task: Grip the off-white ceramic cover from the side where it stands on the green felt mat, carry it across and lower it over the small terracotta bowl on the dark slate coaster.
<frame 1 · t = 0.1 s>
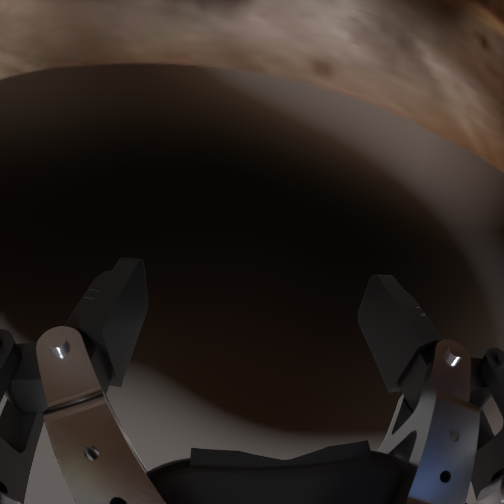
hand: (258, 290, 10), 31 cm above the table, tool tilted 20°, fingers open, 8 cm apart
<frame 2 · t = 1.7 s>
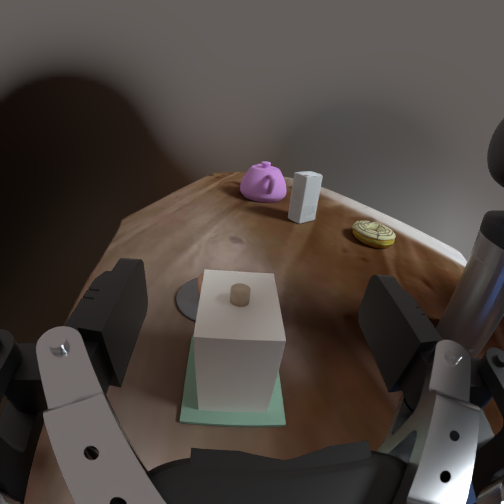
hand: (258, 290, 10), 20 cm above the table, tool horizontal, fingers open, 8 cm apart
felt mat: (232, 379, 29), on the table
teapot: (261, 196, 87), on the table
skincare box: (300, 220, 72), on the table
slate coaster: (214, 299, 41), on the table
ceramic cover: (232, 376, 29), resting on felt mat
decorated donut: (371, 241, 66), on the table
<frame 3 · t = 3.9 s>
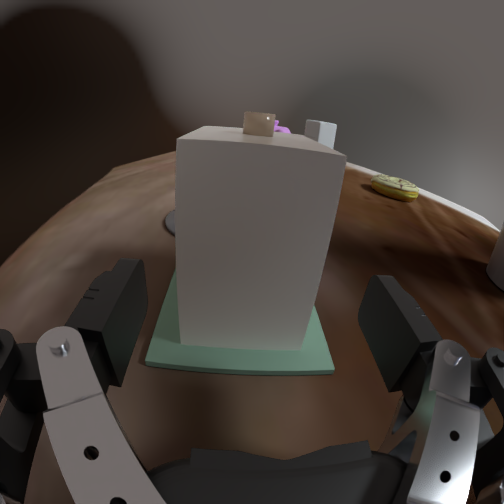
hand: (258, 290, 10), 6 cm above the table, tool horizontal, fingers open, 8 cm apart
felt mat: (240, 304, 19), on the table
skincare box: (313, 174, 63), on the table
ceramic cover: (240, 299, 19), resting on felt mat
decorated donut: (392, 196, 57), on the table
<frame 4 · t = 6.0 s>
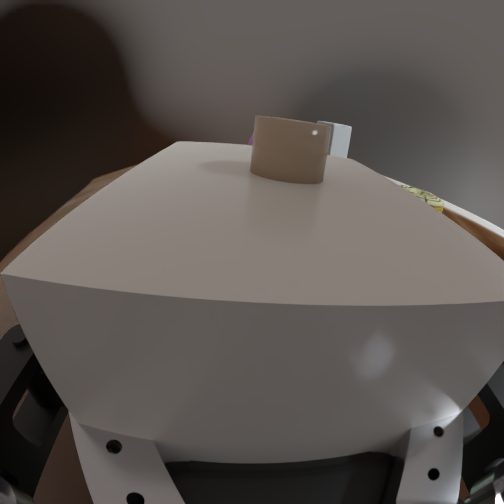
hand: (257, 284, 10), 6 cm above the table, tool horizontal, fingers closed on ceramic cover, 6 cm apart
skincare box: (324, 184, 55), on the table
ceramic cover: (245, 425, 11), resting on felt mat, touching gripper
decorated donut: (414, 210, 48), on the table
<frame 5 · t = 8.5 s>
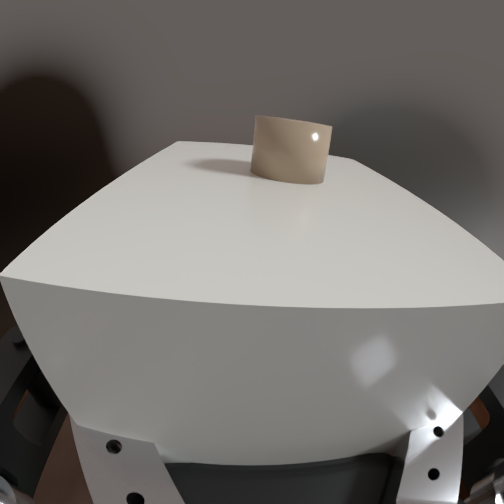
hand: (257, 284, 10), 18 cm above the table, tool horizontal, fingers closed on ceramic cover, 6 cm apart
ceramic cover: (245, 425, 11), point 12 cm above the table, touching gripper
when the fingers open (7 cm above the table, at t = 11.3 s): ceramic cover stays where it is, resting on slate coaster.
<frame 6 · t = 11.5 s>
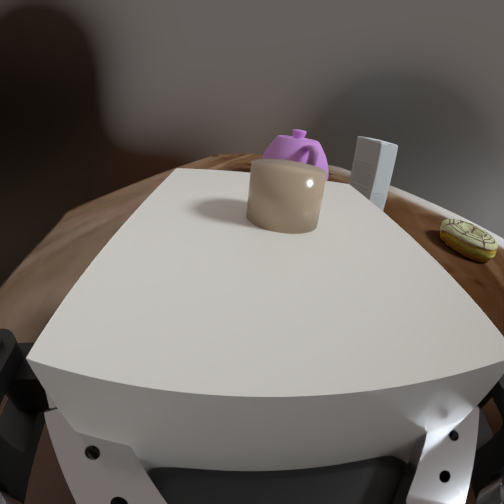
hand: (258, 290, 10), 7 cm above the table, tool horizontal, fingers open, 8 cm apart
teapot: (291, 181, 58), on the table
skincare box: (362, 216, 43), on the table
ceramic cover: (244, 437, 11), resting on slate coaster
decorated donut: (464, 250, 37), on the table
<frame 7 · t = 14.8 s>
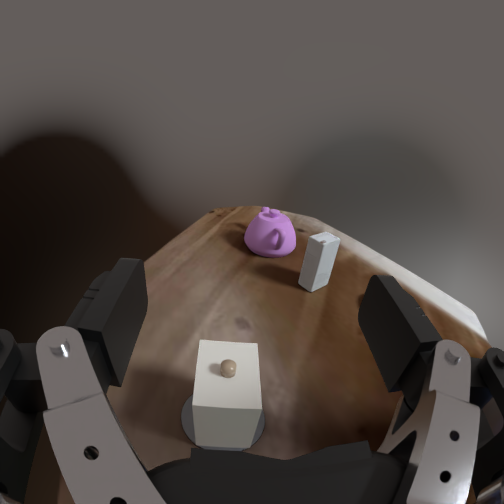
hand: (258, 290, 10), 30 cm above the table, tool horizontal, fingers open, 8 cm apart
teapot: (268, 246, 80), on the table
skincare box: (312, 285, 65), on the table
slate coaster: (222, 418, 34), on the table
ceramic cover: (223, 418, 33), resting on slate coaster
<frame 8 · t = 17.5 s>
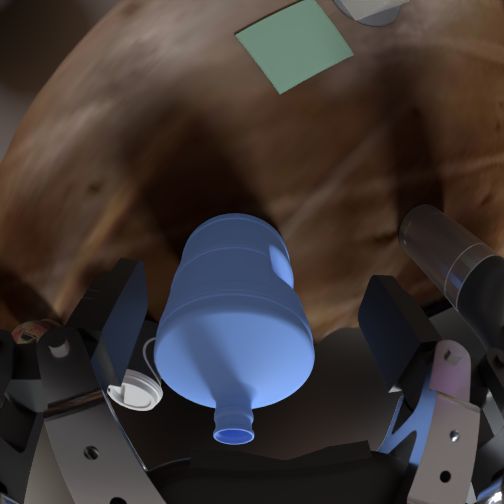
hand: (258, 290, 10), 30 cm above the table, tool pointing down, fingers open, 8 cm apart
felt mat: (296, 42, 29), on the table
ceramic jug: (52, 331, 51), on the table
coffee cup: (150, 332, 51), on the table
water jug: (235, 259, 44), on the table
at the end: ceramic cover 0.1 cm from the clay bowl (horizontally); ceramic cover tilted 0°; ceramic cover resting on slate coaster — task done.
